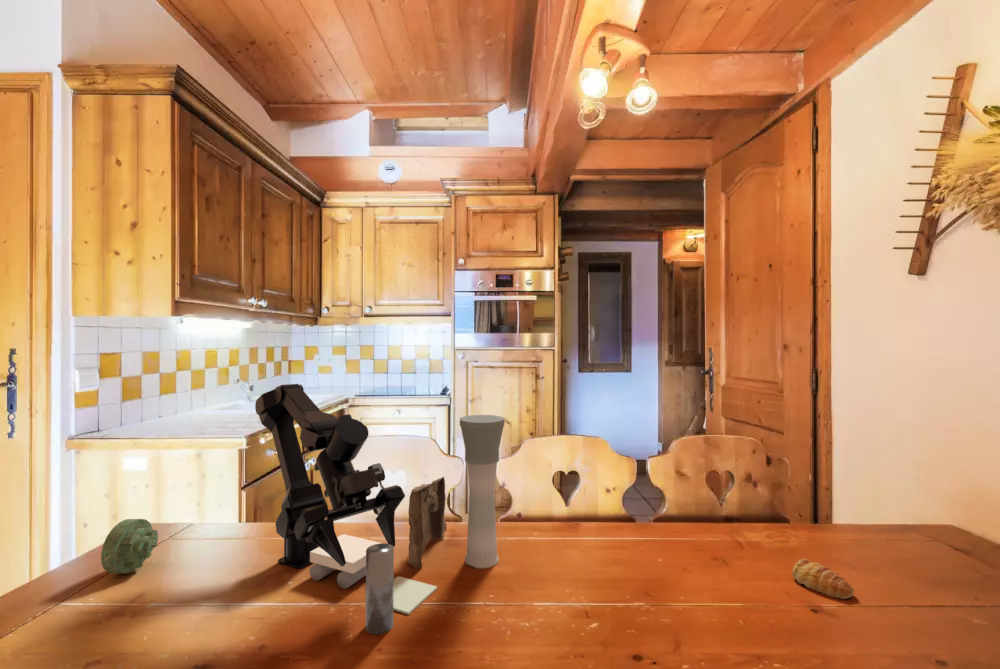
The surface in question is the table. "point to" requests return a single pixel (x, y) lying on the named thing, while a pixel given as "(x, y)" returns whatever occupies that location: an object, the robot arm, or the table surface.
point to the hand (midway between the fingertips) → (369, 555)
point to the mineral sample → (425, 518)
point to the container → (482, 486)
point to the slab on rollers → (353, 557)
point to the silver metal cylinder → (379, 588)
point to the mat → (410, 594)
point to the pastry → (821, 579)
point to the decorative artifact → (128, 546)
